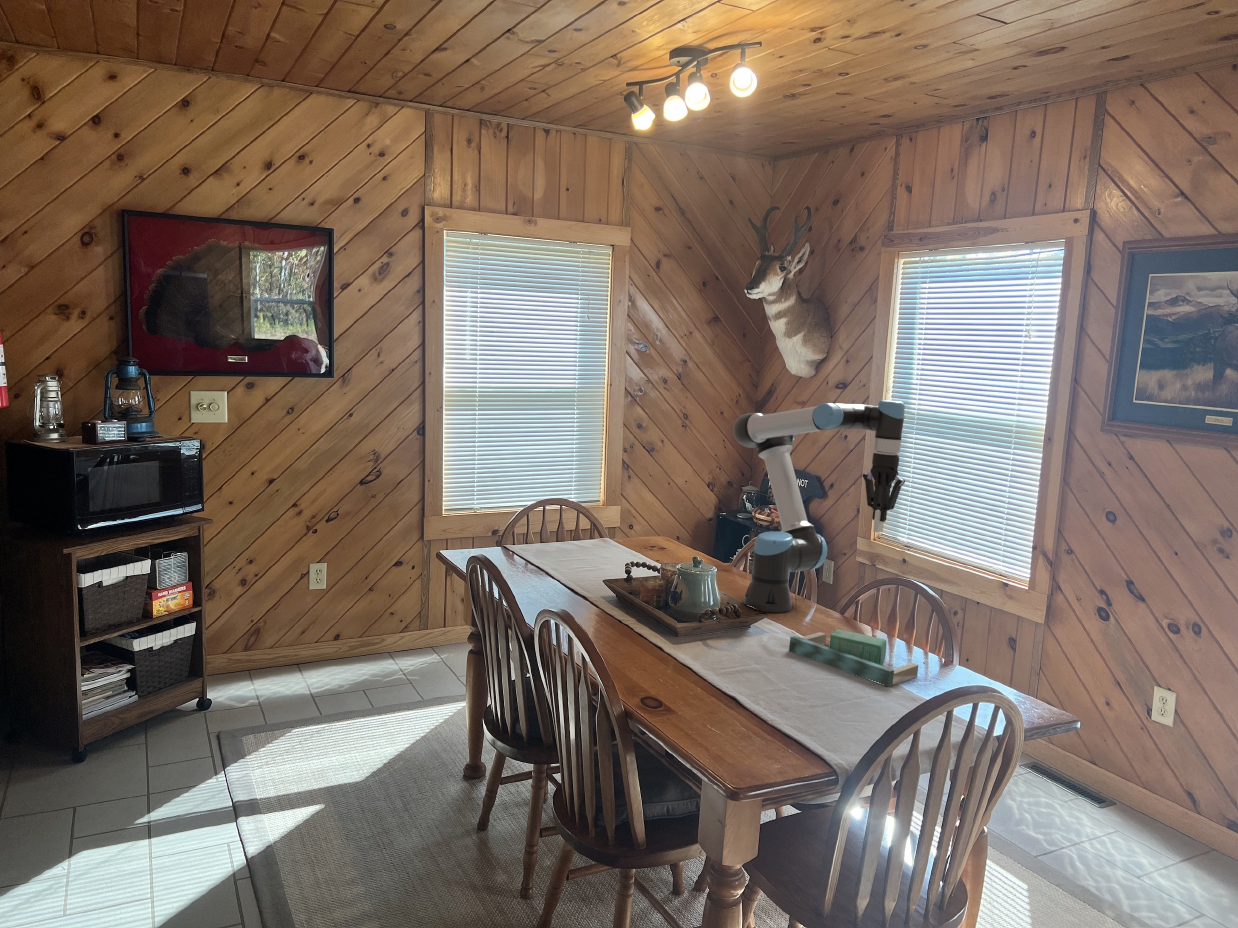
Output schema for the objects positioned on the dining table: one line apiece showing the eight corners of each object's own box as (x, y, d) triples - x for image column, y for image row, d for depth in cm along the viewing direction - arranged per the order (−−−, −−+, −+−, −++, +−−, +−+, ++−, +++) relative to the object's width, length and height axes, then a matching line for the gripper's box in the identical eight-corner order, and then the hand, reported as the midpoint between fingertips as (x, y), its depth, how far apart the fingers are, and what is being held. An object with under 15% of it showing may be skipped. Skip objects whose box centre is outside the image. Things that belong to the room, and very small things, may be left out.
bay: (788, 650, 237) (790, 636, 237) (819, 642, 247) (820, 628, 246) (888, 687, 215) (889, 671, 215) (917, 676, 225) (919, 661, 224)
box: (879, 673, 225) (882, 644, 224) (826, 661, 231) (829, 634, 231) (884, 665, 232) (887, 637, 231) (833, 654, 238) (836, 627, 237)
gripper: (913, 455, 256) (904, 535, 259) (873, 450, 266) (865, 526, 269) (899, 456, 251) (890, 537, 254) (860, 450, 261) (851, 528, 264)
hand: (877, 531), depth 261 cm, fingers closed
